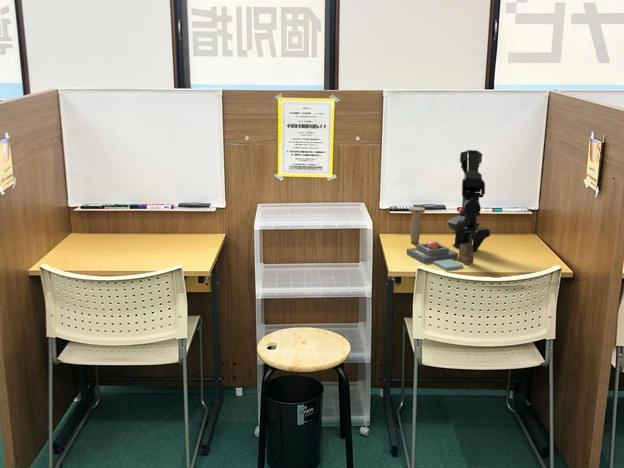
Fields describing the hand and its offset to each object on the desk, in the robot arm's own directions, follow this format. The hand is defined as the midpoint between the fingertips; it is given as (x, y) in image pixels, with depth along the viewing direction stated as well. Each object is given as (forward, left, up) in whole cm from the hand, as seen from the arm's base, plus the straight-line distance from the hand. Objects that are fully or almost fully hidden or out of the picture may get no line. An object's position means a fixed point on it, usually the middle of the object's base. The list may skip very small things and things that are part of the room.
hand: (466, 248), depth 259 cm
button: (+8, -11, -3) cm, 14 cm away
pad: (+9, +1, -5) cm, 11 cm away
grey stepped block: (+8, -11, -5) cm, 15 cm away
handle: (+5, -28, -6) cm, 29 cm away
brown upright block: (0, 0, -5) cm, 5 cm away
